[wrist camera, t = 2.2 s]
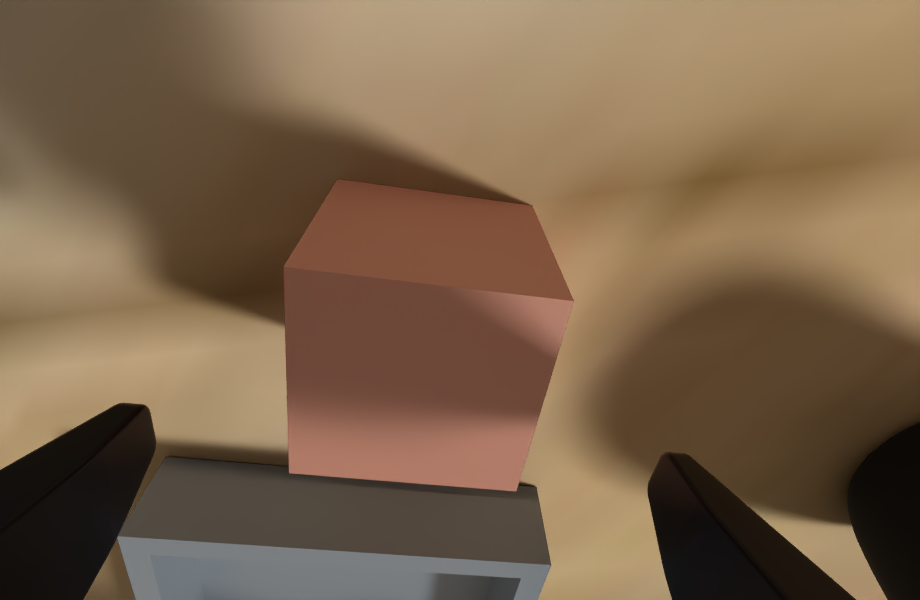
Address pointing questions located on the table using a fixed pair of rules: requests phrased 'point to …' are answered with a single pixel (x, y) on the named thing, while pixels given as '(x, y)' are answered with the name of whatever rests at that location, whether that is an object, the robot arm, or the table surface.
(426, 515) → the tray
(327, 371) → the red block
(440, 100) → the table surface
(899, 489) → the mug
